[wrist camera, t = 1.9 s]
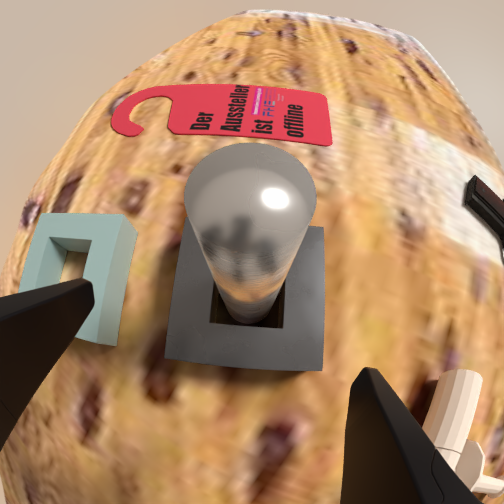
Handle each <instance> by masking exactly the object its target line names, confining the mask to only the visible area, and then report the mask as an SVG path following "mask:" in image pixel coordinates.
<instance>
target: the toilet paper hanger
mask: <svg viewBox="0 0 504 504" xmlns="http://www.w3.org/2000/svg"><path fill="white" fill-rule="evenodd" d="M482 381H483V379H482V377H481V375H480V374H478V373H476V372H474V371H470V370H464V369H455V370H449V371H446V372H444V373H442V374H441V375H440V376H439V380H438V383H437V387H436V390H435V393H434V396H433V399H432V402H431V405H430V408H429V411H428V413H427V416H426V419H425V421H424V424H423V426H422V429H423V430H424V432H425V433H426V434H427V436H428V437H429V439H430V440H431V441H432V443H433V444H434V445H435V449H438V451H439V452H440V454H441V455H442V456H443V458H444V459H445V460H446V462H447V463H448V464H449V466H450V467H451V468H452V470H453V471H454V472H455V473H456V474H457V476H458V477H459V478H460V479H461V480H462V481H463V483H464V484H465V485H466V486H467V487H468V488H469V490H470V491H471V492H477V493H486V494H488V497H490V498H497V497H499V496H501V495H502V494H503V493H504V476H500V477H497V478H492V477H489V476H485V475H482V474H483V468H484V462H485V455H484V453H483V451H482V449H481V447H480V445H479V443H477V442H475V441H471V440H468V439H467V436H468V433H469V430H470V427H471V424H472V421H473V417H474V414H475V410H476V407H477V403H478V399H479V394H480V390H481V385H482Z"/></svg>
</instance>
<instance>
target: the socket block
mask: <svg viewBox="0 0 504 504" xmlns="http://www.w3.org/2000/svg"><path fill="white" fill-rule="evenodd" d="M218 297H219V290H218V288H217V285H216V283H215V281H214V278H213V276H212V274H211V271H210V269H209V267H208V264H207V262H206V259H205V257H204V255H203V252H202V250H201V247H200V245H199V242H198V240H197V237H196V235H195V233H194V230H193V228H192V225H191V222H190V220H189V217H186V219H185V224H184V229H183V234H182V240H181V245H180V250H179V256H178V262H177V267H176V273H175V279H174V286H173V292H172V299H171V306H170V313H169V321H168V329H167V337H166V346H165V356H164V358H167V359H173V360H179V361H186V362H193V363H200V364H208V365H217V366H226V367H237V368H249V369H264V370H287V371H322V367H323V348H324V317H325V259H324V228H323V227H316V226H308V229H307V231H306V233H305V235H304V238H303V240H302V242H301V245H300V247H299V249H298V251H297V253H296V256H295V258H294V260H293V262H292V265H291V267H290V269H289V271H288V273H287V275H286V278H285V280H284V282H283V284H282V286H281V288H280V300H279V318H278V328H263V327H249V326H237V325H226V324H216V315H217V306H218Z"/></svg>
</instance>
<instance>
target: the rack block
mask: <svg viewBox="0 0 504 504" xmlns="http://www.w3.org/2000/svg"><path fill="white" fill-rule="evenodd" d="M137 235H138V232H137V231H136V230H135V228H134V227H133V226H132V224H131V223H130V222H129V221H128V219H127V218H126V217H125V215H124V214H86V213H41V216H40V218H39V221H38V224H37V227H36V230H35V232H34V235H33V238H32V242H31V245H30V248H29V251H28V255H27V258H26V262H25V266H24V270H23V274H22V278H21V282H20V287H19V291H18V293H20V292H24V291H29V290H33V289H37V288H41V287H45V286H49V285H54V284H58V283H59V282H60V278H61V274H62V270H63V266H64V262H65V258H66V254H67V251H75V252H84V253H88V257H87V261H86V265H85V269H84V273H83V278H84V279H86V280H89V281H91V282H92V284H93V290H94V298H95V305H94V308H93V309H92V311H91V312H90V314H89V315H88V317H87V319H86V320H85V322H84V323H83V325H82V326H81V328H80V330H79V331H78V333H77V334H76V336H75V337H76V338H80V339H83V340H87V341H90V342H94V343H99V344H105V345H112V346H117V341H118V333H119V326H120V319H121V312H122V306H123V300H124V295H125V289H126V284H127V279H128V274H129V269H130V264H131V260H132V255H133V251H134V247H135V243H136V239H137Z"/></svg>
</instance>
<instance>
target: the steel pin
mask: <svg viewBox="0 0 504 504" xmlns="http://www.w3.org/2000/svg"><path fill="white" fill-rule="evenodd" d="M316 198H317V195H316V188H315V185H314V181H313V179H312V177H311V175H310V173H309V172H308V170H307V169H306V168H305V167H304V165H303V164H302V163H301V162H300V161H299V160H298V159H296V158H295V157H294V156H292V155H291V154H289V153H288V152H286V151H284V150H282V149H279V148H277V147H274V146H271V145H266V144H261V143H239V144H233V145H230V146H226V147H223V148H221V149H218V150H216V151H214V152H213V153H211V154H209V155H208V156H206V157H205V158H204V159H203V160H202V161H200V162H199V163H198V165H197V166H196V167H195V168H194V169H193V171H192V172H191V174H190V176H189V178H188V180H187V183H186V186H185V192H184V203H185V209H186V212H187V215H188V217H189V220H190V222H191V225H192V228H193V230H194V233H195V235H196V237H197V240H198V242H199V245H200V247H201V250H202V252H203V255H204V257H205V259H206V262H207V264H208V267H209V269H210V271H211V274H212V276H213V278H214V281H215V283H216V285H217V288H218V290H219V292H220V295H221V297H222V299H223V301H224V304H225V306H226V308H227V310H228V312H229V314H230V315H231V316H232V317H233V318H234V319H235V320H237V321H239V322H241V323H246V324H252V323H256V322H259V321H261V320H262V319H264V318H265V317H266V316H267V315H268V313H269V311H270V310H271V307H272V305H273V303H274V301H275V299H276V297H277V295H278V293H279V291H280V288H281V286H282V284H283V282H284V280H285V278H286V275H287V273H288V271H289V269H290V267H291V265H292V262H293V260H294V258H295V256H296V253H297V251H298V249H299V247H300V245H301V242H302V240H303V238H304V235H305V233H306V231H307V229H308V226H309V224H310V222H311V219H312V217H313V214H314V211H315V208H316Z"/></svg>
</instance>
